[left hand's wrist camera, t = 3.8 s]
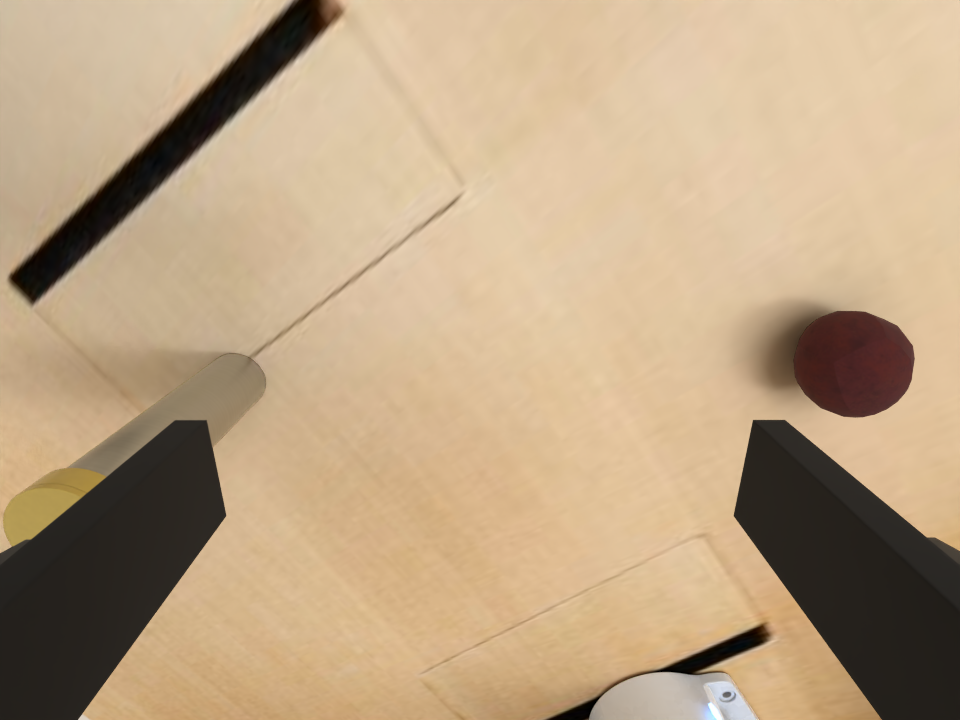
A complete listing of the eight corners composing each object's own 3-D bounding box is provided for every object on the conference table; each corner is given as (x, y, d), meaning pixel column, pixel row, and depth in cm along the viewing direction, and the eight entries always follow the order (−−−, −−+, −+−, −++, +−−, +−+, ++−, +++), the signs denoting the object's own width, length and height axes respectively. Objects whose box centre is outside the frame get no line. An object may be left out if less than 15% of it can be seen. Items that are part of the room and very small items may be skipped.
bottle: (256, 413, 43) (105, 579, 26) (202, 391, 43) (10, 546, 25) (273, 367, 42) (126, 510, 24) (218, 344, 41) (26, 473, 24)
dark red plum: (796, 407, 43) (853, 451, 36) (758, 332, 41) (812, 364, 34) (883, 360, 41) (960, 397, 35) (849, 280, 39) (924, 303, 33)
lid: (126, 567, 27) (104, 593, 26) (24, 531, 26) (-6, 555, 25) (150, 491, 26) (128, 513, 24) (42, 451, 25) (12, 471, 23)
